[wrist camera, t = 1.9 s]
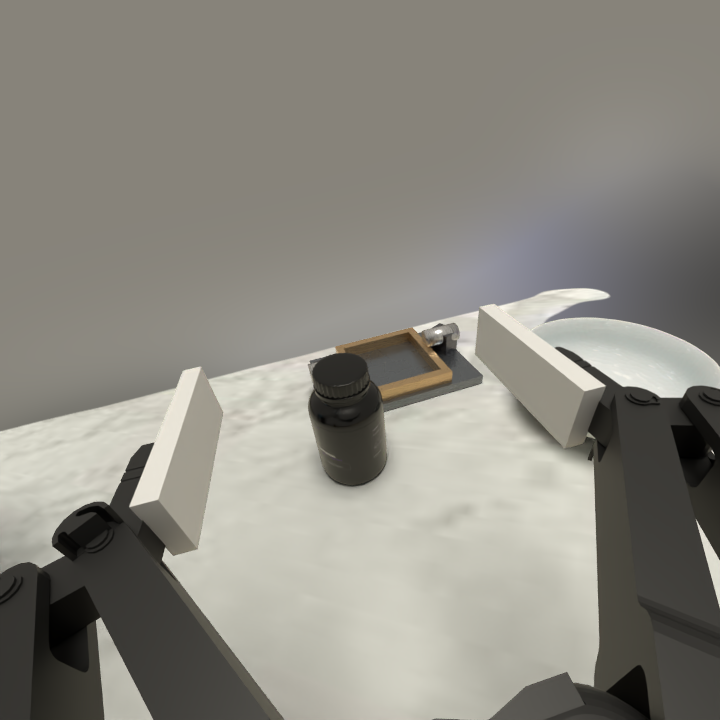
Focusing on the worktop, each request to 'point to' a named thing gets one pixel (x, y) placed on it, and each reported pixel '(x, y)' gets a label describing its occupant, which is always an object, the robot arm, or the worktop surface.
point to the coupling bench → (413, 364)
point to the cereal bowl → (634, 354)
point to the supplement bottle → (347, 419)
